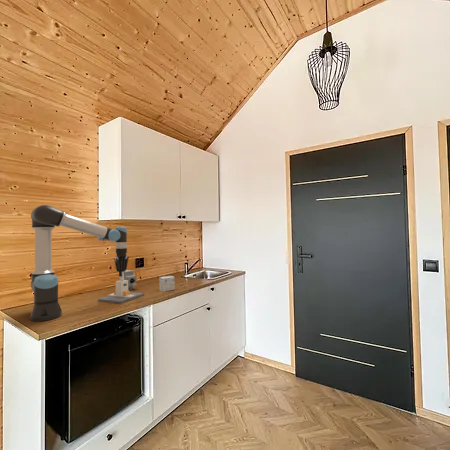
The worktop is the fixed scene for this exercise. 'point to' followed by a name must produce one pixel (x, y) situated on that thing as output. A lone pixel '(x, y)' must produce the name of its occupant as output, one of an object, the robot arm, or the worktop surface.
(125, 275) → the circuit breaker
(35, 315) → the robot arm
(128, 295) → the din rail board
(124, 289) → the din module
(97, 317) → the worktop surface
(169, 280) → the light bulb box
